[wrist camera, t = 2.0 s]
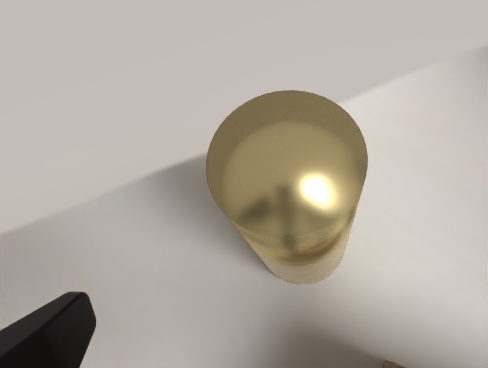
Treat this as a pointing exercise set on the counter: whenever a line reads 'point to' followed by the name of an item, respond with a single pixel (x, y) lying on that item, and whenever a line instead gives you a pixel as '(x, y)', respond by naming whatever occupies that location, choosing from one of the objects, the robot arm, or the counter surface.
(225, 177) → the brass cylinder
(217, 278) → the counter surface
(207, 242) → the counter surface
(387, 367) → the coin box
